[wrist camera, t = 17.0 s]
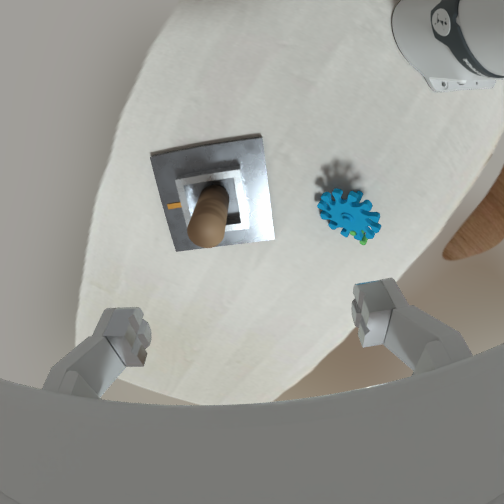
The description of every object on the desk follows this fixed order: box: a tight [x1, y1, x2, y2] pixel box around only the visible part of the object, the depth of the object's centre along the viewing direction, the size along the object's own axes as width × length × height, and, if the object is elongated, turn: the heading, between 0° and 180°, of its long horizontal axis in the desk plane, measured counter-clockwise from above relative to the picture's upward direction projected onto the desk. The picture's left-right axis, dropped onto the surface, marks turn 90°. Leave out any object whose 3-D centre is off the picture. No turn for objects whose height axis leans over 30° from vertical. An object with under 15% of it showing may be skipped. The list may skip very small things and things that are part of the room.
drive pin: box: [187, 185, 229, 248], centre depth 38 cm, size 4×4×10 cm
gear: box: [317, 188, 381, 245], centre depth 42 cm, size 11×6×10 cm
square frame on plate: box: [150, 137, 274, 252], centre depth 42 cm, size 16×16×3 cm
